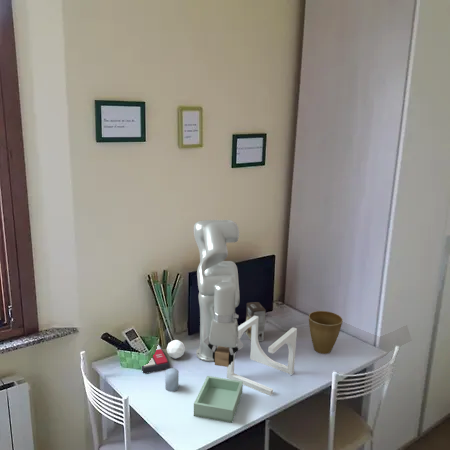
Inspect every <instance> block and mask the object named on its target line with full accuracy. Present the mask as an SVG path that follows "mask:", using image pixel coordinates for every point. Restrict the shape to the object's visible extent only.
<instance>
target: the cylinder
mask: <svg viewBox="0 0 450 450" xmlns="http://www.w3.org/2000/svg"><path fill="white" fill-rule="evenodd" d="M179 373H180V372H179V369H177V368H173V367H169V369H165V375H164V376H165V379H164V380H165V381H164V382H165V390H166V391H168V392H169V393H171V392H172V393H173V392H176V391H178V390H179V381H180V380H179V375H180V374H179Z"/></svg>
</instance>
